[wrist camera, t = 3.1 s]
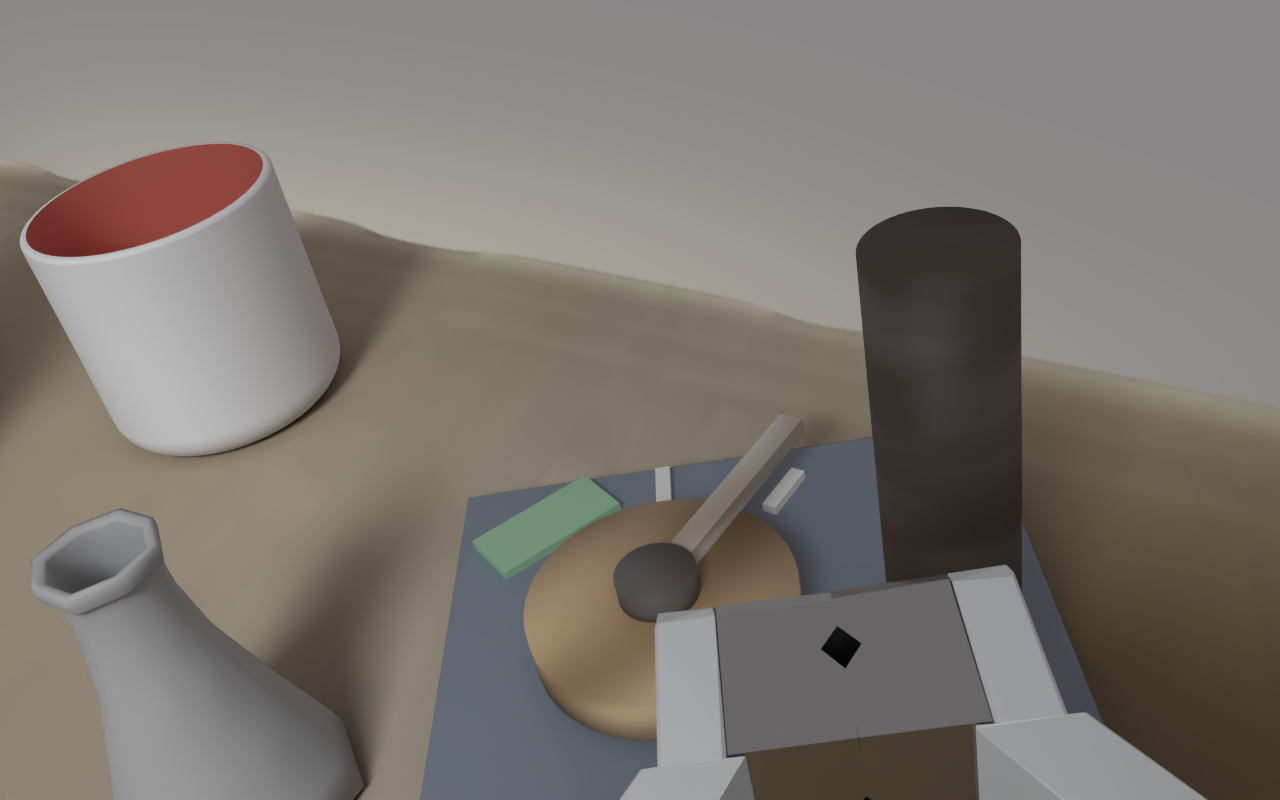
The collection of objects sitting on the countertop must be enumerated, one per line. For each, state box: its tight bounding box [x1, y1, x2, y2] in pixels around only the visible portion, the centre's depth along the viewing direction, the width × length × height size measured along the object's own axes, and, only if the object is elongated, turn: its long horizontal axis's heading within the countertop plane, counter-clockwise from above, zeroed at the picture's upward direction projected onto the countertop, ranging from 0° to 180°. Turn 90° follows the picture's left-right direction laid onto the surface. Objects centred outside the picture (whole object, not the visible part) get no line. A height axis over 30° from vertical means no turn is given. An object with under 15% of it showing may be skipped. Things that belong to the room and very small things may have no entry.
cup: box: [20, 142, 340, 456], centre depth 51 cm, size 10×10×10 cm
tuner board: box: [420, 437, 1104, 800], centre depth 36 cm, size 18×18×2 cm
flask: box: [31, 508, 364, 800], centre depth 33 cm, size 7×7×10 cm
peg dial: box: [523, 207, 1022, 741], centre depth 31 cm, size 14×12×14 cm
